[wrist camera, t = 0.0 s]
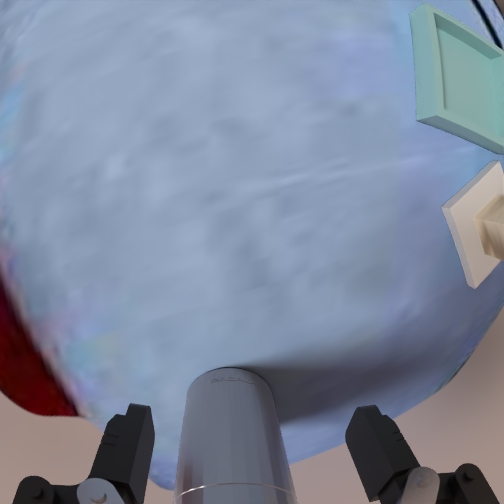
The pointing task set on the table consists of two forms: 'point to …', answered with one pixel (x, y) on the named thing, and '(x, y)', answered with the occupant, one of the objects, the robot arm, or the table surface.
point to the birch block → (492, 227)
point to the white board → (463, 223)
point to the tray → (458, 78)
